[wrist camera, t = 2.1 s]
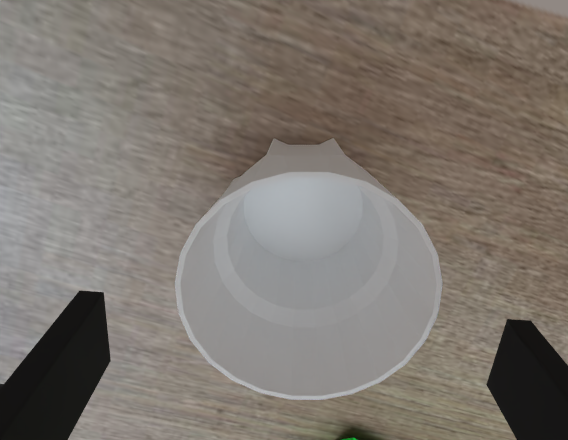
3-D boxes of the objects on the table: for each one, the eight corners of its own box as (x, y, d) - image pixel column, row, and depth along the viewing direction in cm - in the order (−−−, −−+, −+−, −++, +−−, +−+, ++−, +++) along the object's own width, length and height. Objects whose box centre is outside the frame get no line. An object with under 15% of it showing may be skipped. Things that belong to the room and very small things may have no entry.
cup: (303, 78, 23) (309, 109, 14) (425, 205, 26) (495, 299, 17) (182, 205, 26) (122, 298, 17) (302, 307, 29) (305, 435, 20)
